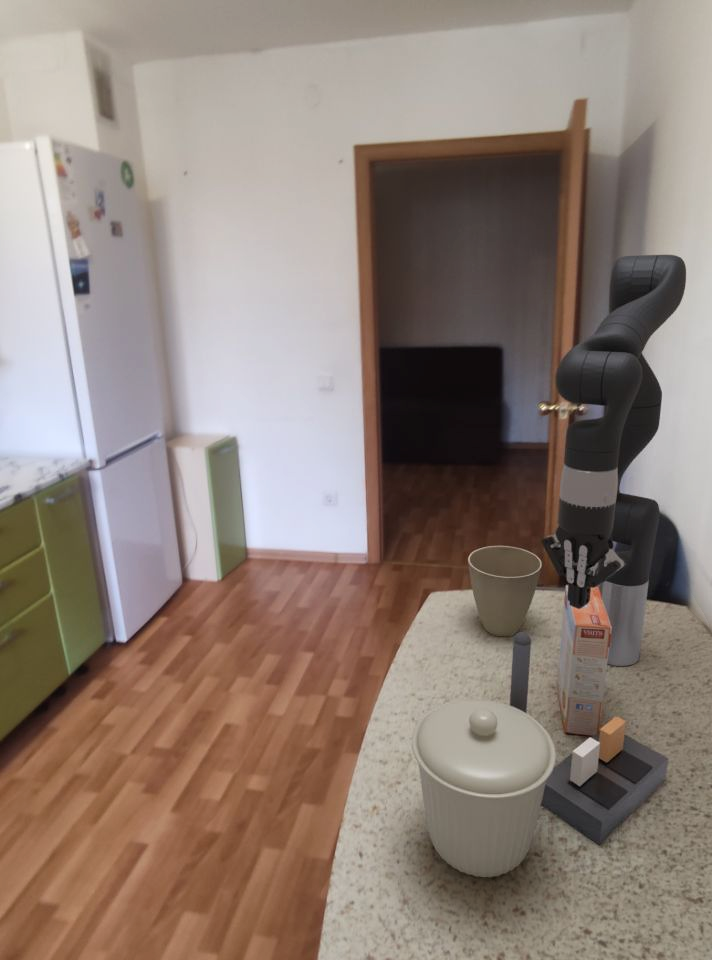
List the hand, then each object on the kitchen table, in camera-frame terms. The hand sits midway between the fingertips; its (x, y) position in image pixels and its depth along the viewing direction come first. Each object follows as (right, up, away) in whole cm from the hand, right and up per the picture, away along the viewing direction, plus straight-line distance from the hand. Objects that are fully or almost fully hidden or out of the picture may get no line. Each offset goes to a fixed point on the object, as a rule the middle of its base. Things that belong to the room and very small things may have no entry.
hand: (577, 605), depth 97 cm
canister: (-16, -31, -8) cm, 36 cm away
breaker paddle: (+5, -23, +1) cm, 24 cm away
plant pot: (-2, -13, +44) cm, 46 cm away
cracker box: (+6, -22, +18) cm, 29 cm away
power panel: (+4, -28, 0) cm, 28 cm away
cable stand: (-9, -27, +3) cm, 29 cm away
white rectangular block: (0, -24, -3) cm, 25 cm away
